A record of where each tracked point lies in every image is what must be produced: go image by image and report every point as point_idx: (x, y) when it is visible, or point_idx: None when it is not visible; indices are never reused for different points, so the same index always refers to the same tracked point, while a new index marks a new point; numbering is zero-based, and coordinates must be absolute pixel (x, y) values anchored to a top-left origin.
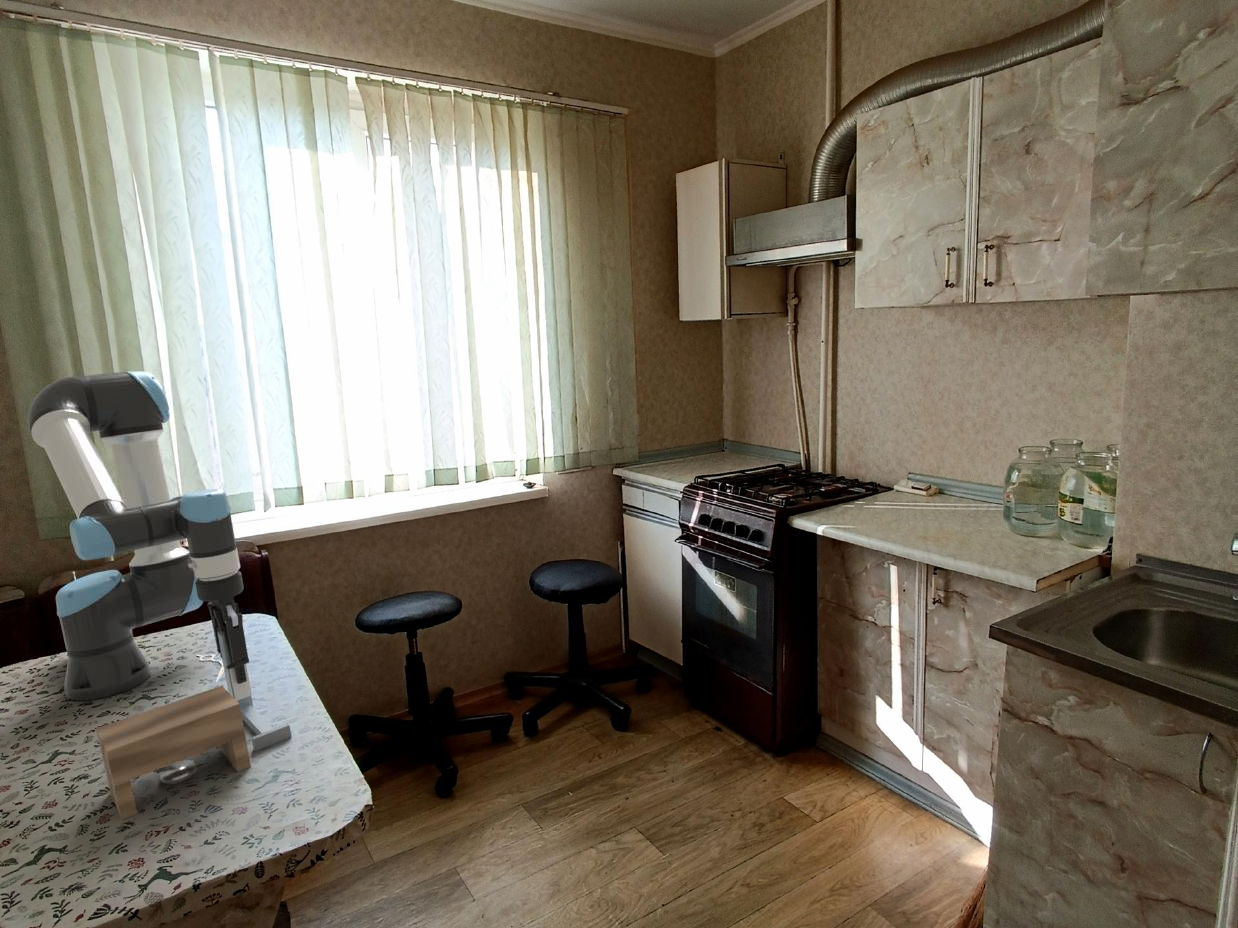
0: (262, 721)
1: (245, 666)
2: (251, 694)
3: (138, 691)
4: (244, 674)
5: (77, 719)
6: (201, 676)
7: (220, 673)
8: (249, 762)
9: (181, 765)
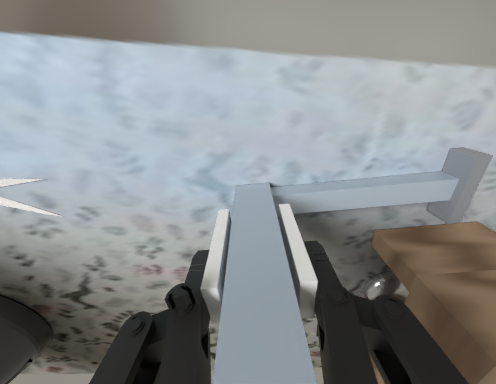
0: (383, 191)
1: (313, 271)
2: (289, 205)
3: (44, 300)
4: (329, 262)
5: (112, 342)
6: (10, 231)
7: (6, 202)
8: (484, 227)
9: (386, 290)
